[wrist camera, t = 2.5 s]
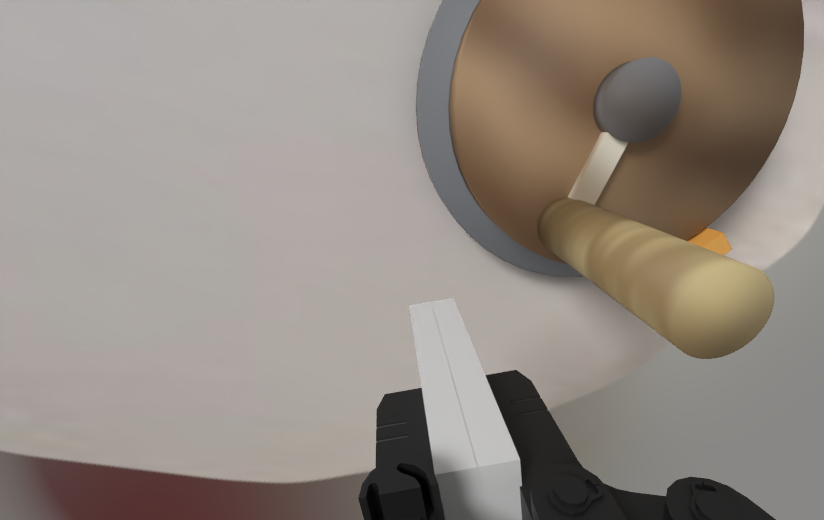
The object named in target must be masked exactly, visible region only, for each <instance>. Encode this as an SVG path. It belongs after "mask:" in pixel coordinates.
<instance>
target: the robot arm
mask: <svg viewBox="0 0 824 520" xmlns="http://www.w3.org/2000/svg"><path fill="white" fill-rule="evenodd" d="M409 308H410V315H411V321H412V328H413V334H414V341H415V348H416V354H417V361H418V367H419V374H420V381H421V387H422V388H418V389H412V390H407V391H401V392H395V393H390V394H385V395H384V397H383V399H382V401H381V403H380V405H379V406H378V408H377V429H376V441H377V443H376V468H375V469H374V470H373V471H371V472H370V474H369V475H368V477H367V478H366V480H365V481H364V482H363V484H362V487H361V491H360V495H359V498H358V499H359V502H360V506H361V509H362V513H363V517H364V520H775V519H774V518H773V517H772V516H770V515H769V514H768V513H766V512H765V511H764V510H763V509H761V508H760V507H759V506H757V505H756V504H755V503H753V502H752V501H751V500H749V499H748V498H747V497H745V496H744V495H742V494H740V493H739V492H737V491H735V490H734V489H732V488H730V487H729V486H727V485H724V484H721V483H718V482H716V481H713V480H710V479H705V478H696V477H688V478H684V479H679V480H676V481H675V482H674V483H673V484H672V485H671V486H670V487H669V488H668V489H667V495H666V496H658V495H650V494H641V493H634V492H628V491H623V490H619V489H615V488H613V487H611V486H608V485H606V484H604V483H602V482H601V480H600V479H599V478H598V477H597V476H595V475H594V474H592V473H591V472H589V471H588V470H586V469H584V468H583V467H582V465H581V464H580V463H579V461H578V460H577V458H576V457H575V455H574V453H573V452H572V450H571V448H570V446H569V445H568V443H567V441H566V440H565V438H564V436H563V434H562V433H561V431H560V430H559V428H558V426H557V424H556V423H555V421H554V419H553V418H552V416H551V414H550V412H549V411H548V410H547V407H546V405H545V404H544V402H543V400H542V399H541V398H540V395H539V393H538V392H537V390H536V388H535V387H534V385H533V383H532V382H531V380H529V379H528V378H526V377H525V376H524V375H522V374H521V373H520V372H518V371H517V370H513V371H507V372H502V373H496V374H490V375H485V374H484V371H483V369H482V366H481V364H480V361H479V359H478V357H477V354H476V352H475V349H474V347H473V345H472V342H471V340H470V337H469V335H468V333H467V330H466V328H465V325H464V323H463V320H462V318H461V316H460V313H459V311H458V308H457V306H456V304H455V301H454V299H453V298H449V299H443V300H437V301H431V302H426V303H420V304H414V305H409Z"/></svg>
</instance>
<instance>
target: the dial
mask: <svg viewBox="0 0 824 520" xmlns="http://www.w3.org/2000/svg"><path fill="white" fill-rule="evenodd" d="M803 50H804V20H803V11H802V2H801V0H480V1H479V2H478V4H477V6H476V7H475V9H474V11H473V13H472V15H471V17H470V19H469V21H468V24H467V26H466V28H465V30H464V33H463V35H462V38H461V41H460V44H459V47H458V50H457V54H456V57H455V60H454V65H453V71H452V76H451V81H450V90H449V104H448V112H449V131H450V136H451V142H452V148H453V153H454V156H455V159H456V162H457V165H458V169H459V172H460V174H461V176H462V178H463V180H464V182H465V185H466V187H467V189H468V190H469V192H470V194H471V195H472V197H473V198H474V200H475V201H476V203H477V204H478V206H479V207H480V208H481V209H482V210H483V212H484V213H485V214H486V215H487V216H488V217H489V218H490V219H491V220H492V221H493V222H494V223H495V224H496V225H497V226H498V227H499V228H501V229H502V230H503V231H504V232H505V233H506V234H507V235H509V236H510V237H511V238H512V239H513V240H514V241H516V242H517V243H519V244H521V245H522V246H524V247H525V248H527V249H528V250H530V251H532V252H534V253H536V254H539V255H541V256H543V257H545V258H547V259H551V260H554V261H558V262H561V263H565V264H569V265H570V266H571V267H572V268H574V269H575V270H576V271H578V272H579V273H580V274H582V275H583V276H584V277H586V278H587V279H588V280H590V281H591V282H592V283H593V284H595V285H596V286H597V287H599V288H600V289H601V290H603V291H604V292H605V293H607V294H608V295H609V296H610V297H612V298H613V299H614V300H616V301H617V302H618V303H620V304H621V305H622V306H624V307H625V308H626V309H627V310H629V311H630V312H631V313H633V314H634V315H635V316H637V317H638V318H639V319H641V320H642V321H643V322H644V323H646V324H647V325H648V326H650V327H651V328H652V329H654V330H655V331H656V332H658V333H659V334H660V335H662V336H663V337H664V338H665V339H667V340H668V341H669V342H671V343H672V344H673V345H675V346H676V347H677V348H679V349H680V350H681V351H683V352H684V353H686V354H687V355H690V356H692V357H696V358H701V359H712V358H718V357H722V356H725V355H728V354H730V353H733V352H735V351H737V350H738V349H740V348H742V347H743V346H744V345H746V344H748V343H749V342H750V341H751V340H752V339H753V338H755V337H756V335H758V333H759V332H760V331H761V330H762V328H763V327H764V326H765V324H766V322H767V321H768V319H769V317H770V314H771V312H772V309H773V304H774V290H773V286H772V283H771V282H770V280H769V278H768V277H767V276H766V275H765V274H764V273H763V272H762V271H760V270H758V269H756V268H754V267H752V266H749V265H747V264H744V263H741V262H739V261H736V260H734V259H731V258H729V257H726V256H723V255H721V254H718V253H716V252H713V251H711V250H708V249H706V248H703V247H700V246H698V245H695V244H693V243H690V242H688V241H686V240H687V239H689V238H691V237H692V236H694V235H696V234H697V233H699V232H700V231H701V230H703V229H704V228H705V227H707V226H708V225H709V224H711V223H712V222H713V221H714V220H716V219H717V218H718V217H719V216H720V215H721V214H722V213H723V212H724V211H725V210H727V209H728V208H729V207H730V206H731V205H732V204H733V203H734V202H735V201H736V200H737V198H738V197H739V196H740V195H741V194H742V193H743V192H744V191H745V189H746V188H747V187H748V186H749V185H750V183H751V182H752V181H753V179H754V178H755V176H756V175H757V174H758V172H759V171H760V170H761V168H762V167H763V165H764V164H765V162H766V160H767V159H768V157H769V155H770V153H771V152H772V150H773V148H774V147H775V145H776V143H777V141H778V139H779V136H780V134H781V132H782V130H783V128H784V126H785V124H786V121H787V118H788V115H789V113H790V110H791V107H792V104H793V101H794V98H795V94H796V90H797V86H798V82H799V78H800V73H801V65H802V58H803Z"/></svg>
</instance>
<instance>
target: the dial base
mask: <svg viewBox="0 0 824 520" xmlns="http://www.w3.org/2000/svg"><path fill="white" fill-rule="evenodd" d="M479 1H480V0H443V1H442V3H441V5H440V7H439V10H438V12H437V14H436V17H435V19H434V21H433V24H432V26H431V28H430V31H429V34H428V37H427V40H426V44H425V47H424V51H423V54H422V58H421V63H420V69H419V75H418V81H417V96H416V117H417V130H418V137H419V142H420V147H421V152H422V156H423V159H424V162H425V165H426V168H427V171H428V174H429V177H430V179H431V181H432V183H433V185H434V187H435V189H436V191H437V193H438V195H439V197H440V198H441V200H442V201H443V203H444V204H445V206H446V207H447V209H448V210H449V212H450V213H451V214H452V216H453V217H454V218H455V220H456V221H457V222H458V223H459V224H460V225H461V227H462V228H463V229H464V230H465V231H466V232H467V233H468V234H469V235H470V236H471V237H472V238H473V239H474V240H475V241H477V242H478V243H479V244H480V245H481V246H483V247H484V248H485V249H486V250H488V251H489V252H491V253H493V254H494V255H496V256H497V257H499V258H501V259H502V260H504V261H506V262H509V263H511V264H513V265H516V266H518V267H520V268H523V269H526V270H530V271H533V272H537V273H541V274H548V275H554V276H573V277H581V276H583V275H582V274H580V273H579V272H578V271H576V270H575V269H574V268H572V267H571V266H570V265H569V264H565V263H561V262H558V261H554V260H551V259H547V258H545V257H543V256H541V255H539V254H536V253H534V252H532V251H530V250H528V249H527V248H525V247H524V246H522V245H521V244H519V243H517V242H516V241H514V240H513V239H512V238H511V237H510V236H509V235H507V234H506V233H505V232H504V231H503V230H502V229H501V228H499V227H498V226H497V225H496V224H495V223H494V222H493V221H492V220H491V219H490V218H489V217H488V216H487V215H486V214H485V213H484V212H483V210H482V209H481V208H480V207H479V206H478V204H477V203H476V201H475V200H474V198H473V197H472V195H471V194H470V192H469V190H468V189H467V187H466V185H465V182H464V180H463V178H462V176H461V174H460V172H459V169H458V165H457V162H456V159H455V156H454V153H453V148H452V142H451V136H450V131H449V112H448V104H449V90H450V81H451V76H452V71H453V65H454V60H455V57H456V54H457V50H458V47H459V44H460V41H461V38H462V35H463V33H464V30H465V28H466V26H467V24H468V21H469V19H470V17H471V15H472V13H473V11H474V9H475V7H476V6H477V4H478V2H479ZM686 241H688V242H690V243H693V244H695V245H698V246H700V247H703V248H706V249H708V250H711V251H713V252H716V253H718V254H721V255H725V254H726V253H728V252H729V251H731V250H732V248H731V246H730V244H729V242H728V240H727V238H726V236H725V234H724V233H722V232H719V231H716V230H713V229H710V228H707V227H705V228H704V229H703V230H701V231H700V232H699V233H697V234H696V235H694V236H692V237H691V238H689V239H687V240H686Z"/></svg>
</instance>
